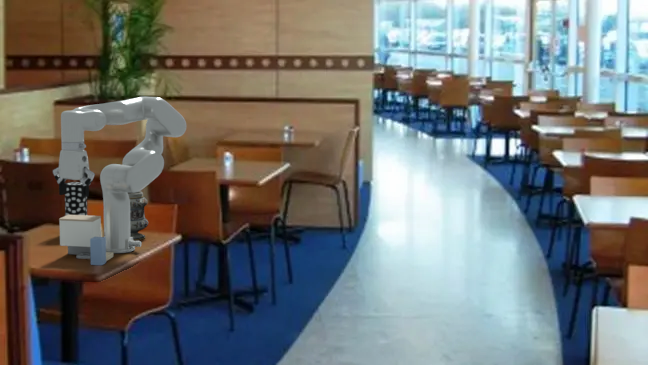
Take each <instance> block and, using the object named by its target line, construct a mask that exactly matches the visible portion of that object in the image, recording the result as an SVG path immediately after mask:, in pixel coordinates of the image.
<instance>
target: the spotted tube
mask: <svg viewBox="0 0 648 365" xmlns="http://www.w3.org/2000/svg"><path fill="white" fill-rule="evenodd" d="M65 183H66V185H67V194H64V209H65V210H64V211H65V212H64V216H66V215H88V200H87V199H88V197H82V194H81V187H82V186H83V185H82V183H81V182H80V181H73V182H65Z"/></svg>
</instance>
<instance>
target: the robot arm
mask: <svg viewBox="0 0 648 365" xmlns="http://www.w3.org/2000/svg"><path fill="white" fill-rule="evenodd" d="M145 120H146V124H145V136H144V139H143V140H142V141H141V142H139V143H138V145H136V146H135V147H133V148H132V149H131V150H129V152H127V153H126V154H125V155H124V157H123V159H122V164H117V163H111V164H108V165H105V167H103V169H102V170H101V172H100V176H99V180H100V181H99V182H100V185H101V186H100V187H101V190H102V198H103V199H102V202H103V237H106V252H113V254H125V253H131V252H134V251H136V250H135V249H136V248H139V247H140V248H141V247H142V241H140V240H133V237H130V199H129V196H128V193H127V192H129V193H136V192H139V191H141V192H142V191H143V189H144V188H146V187H147V186H149V185H150V184H151V183H152V182H153V181H154V180H155V179H157V178H158V177H159V176H160V175H161V173H162V172H163V170H164V167H165V160H164V159H165V158H164V156H163V155H162V154H163V152H164V137H168V138H169V137H170V138H179V137H183V135H184V134H185V133H186V130H187V122H186V119H185V118H184V116H183V115H182V114H181V113H180V112H179V111H178V110H177V109H176V108H174V107H173V106H172V105H171V103H169V102H168V101H166V100H165V99H163V98H161V97H158V96H139V97H133V98H127V99H124V100H117V101H111V102H105V103H99V104H98V103H97V104H90V105H89V104H88V105H84V106H79V107H75V108H74V109H72V110H64V111H62V112H61V114H60V129H61V130H60V132H61V134H60V135H61V137H60V138H61V150H60V152H59V159H58V167H56V168H54V169H52V174H53V176H54V179H55V180H56V182H57V184H58V195H59V196H65V194H67V185H66V183H67V182H66V181H67V180H73V181H79V182H81V183H82V185H83V186H82V187H81V194H82V197H87V198H88V197H89V196H90V185H91V184H92V182H93V181H94V178H95V175H96V174H95V173H94V171H91V169H90V163H89V157H88V152H87V150H85V148H87V145H86V144H85V131H87V132H88V131H89V132H90V131H91V132H98V131H100V130H102V129H103V128H104V127H105V126H106V125H108V126H120V125H121V126H123V125H127V124H132V123H135V122H139V121H145Z"/></svg>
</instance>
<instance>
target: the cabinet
mask: <svg viewBox="0 0 648 365" xmlns="http://www.w3.org/2000/svg"><path fill="white" fill-rule="evenodd" d="M58 221H59V246H61V247H62V246H63V247H67V254H68V255H78V254H80V253H91V251H90V239H91V238H93V237H102V229H101V228H102V215H88V214H87V215H66V216H65V215H64V216H62V217H60V218H59V219H58Z"/></svg>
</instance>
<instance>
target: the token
mask: <svg viewBox="0 0 648 365" xmlns="http://www.w3.org/2000/svg"><path fill="white" fill-rule="evenodd" d="M75 255H76V257H75V258H76V259H80V260H81V259H82V260H86V259H87V260H91V253H80V254H75Z"/></svg>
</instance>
